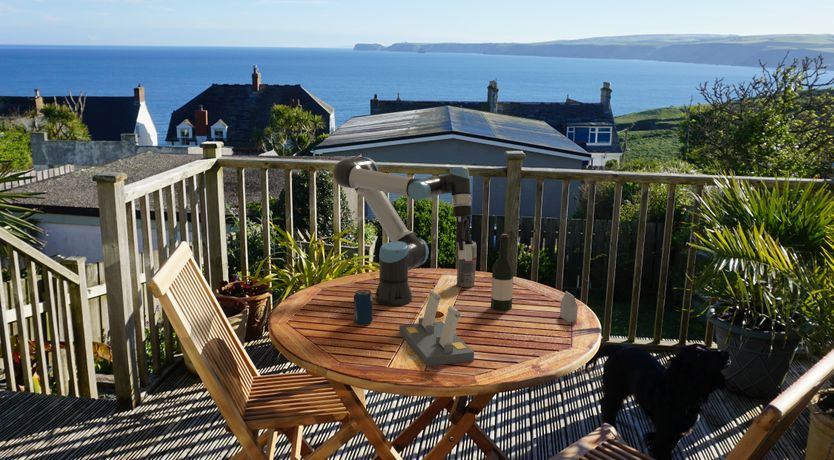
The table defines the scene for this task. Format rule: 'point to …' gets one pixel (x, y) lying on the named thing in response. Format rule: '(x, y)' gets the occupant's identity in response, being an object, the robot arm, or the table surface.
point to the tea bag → (568, 308)
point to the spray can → (467, 269)
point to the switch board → (435, 344)
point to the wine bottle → (502, 278)
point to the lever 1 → (431, 309)
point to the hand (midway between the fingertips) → (465, 260)
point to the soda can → (363, 307)
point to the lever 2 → (449, 326)
